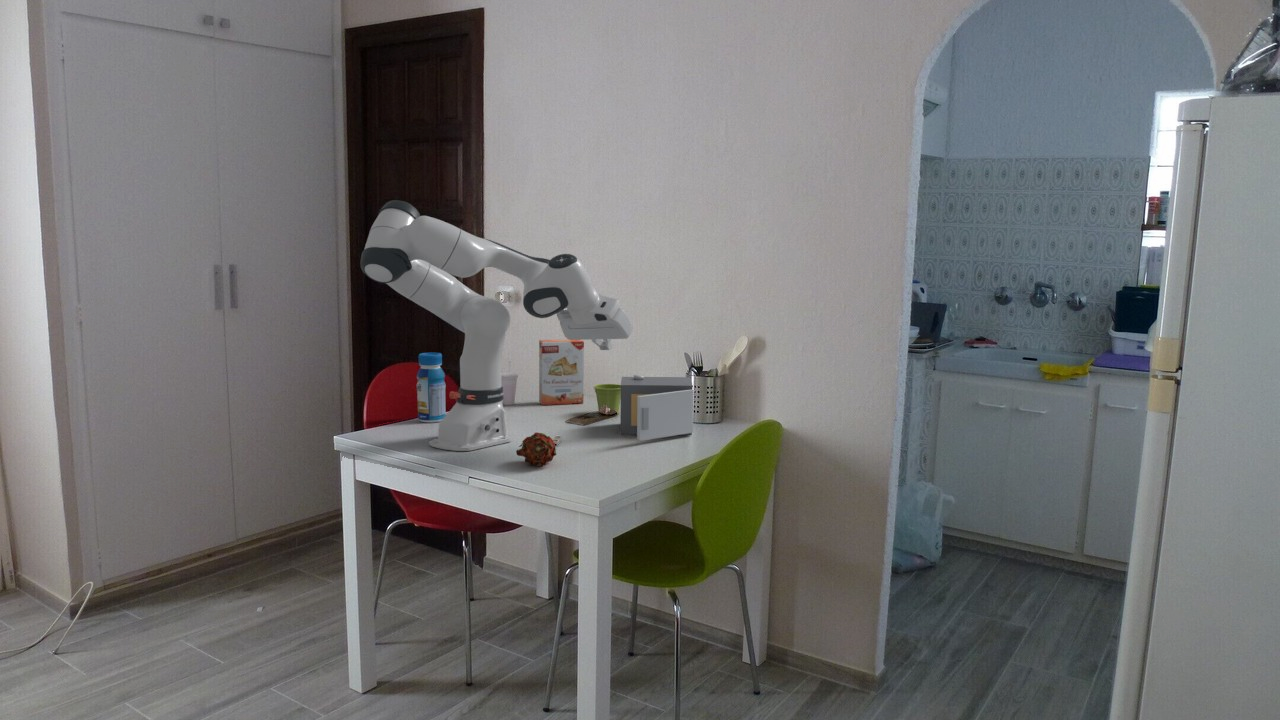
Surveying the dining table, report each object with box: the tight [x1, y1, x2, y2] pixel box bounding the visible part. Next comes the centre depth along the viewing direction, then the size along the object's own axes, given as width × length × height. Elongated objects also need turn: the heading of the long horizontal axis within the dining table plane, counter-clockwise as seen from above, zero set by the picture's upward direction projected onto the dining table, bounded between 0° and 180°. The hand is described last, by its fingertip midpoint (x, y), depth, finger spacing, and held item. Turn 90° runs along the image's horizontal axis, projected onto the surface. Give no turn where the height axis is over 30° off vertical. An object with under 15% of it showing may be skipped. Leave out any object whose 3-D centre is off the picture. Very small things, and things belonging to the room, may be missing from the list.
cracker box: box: [538, 338, 585, 406], centre depth 301 cm, size 14×6×21 cm, turn 105°
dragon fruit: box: [515, 432, 557, 467], centre depth 226 cm, size 8×8×12 cm
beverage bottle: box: [415, 352, 447, 424], centre depth 274 cm, size 8×8×20 cm
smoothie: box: [501, 360, 519, 406], centre depth 300 cm, size 6×6×14 cm
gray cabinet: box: [620, 374, 694, 436], centre depth 264 cm, size 14×20×15 cm
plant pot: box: [592, 383, 621, 415], centre depth 286 cm, size 9×9×9 cm
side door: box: [636, 389, 694, 442], centre depth 251 cm, size 2×18×12 cm, turn 125°
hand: (606, 348), depth 247 cm, fingers closed
